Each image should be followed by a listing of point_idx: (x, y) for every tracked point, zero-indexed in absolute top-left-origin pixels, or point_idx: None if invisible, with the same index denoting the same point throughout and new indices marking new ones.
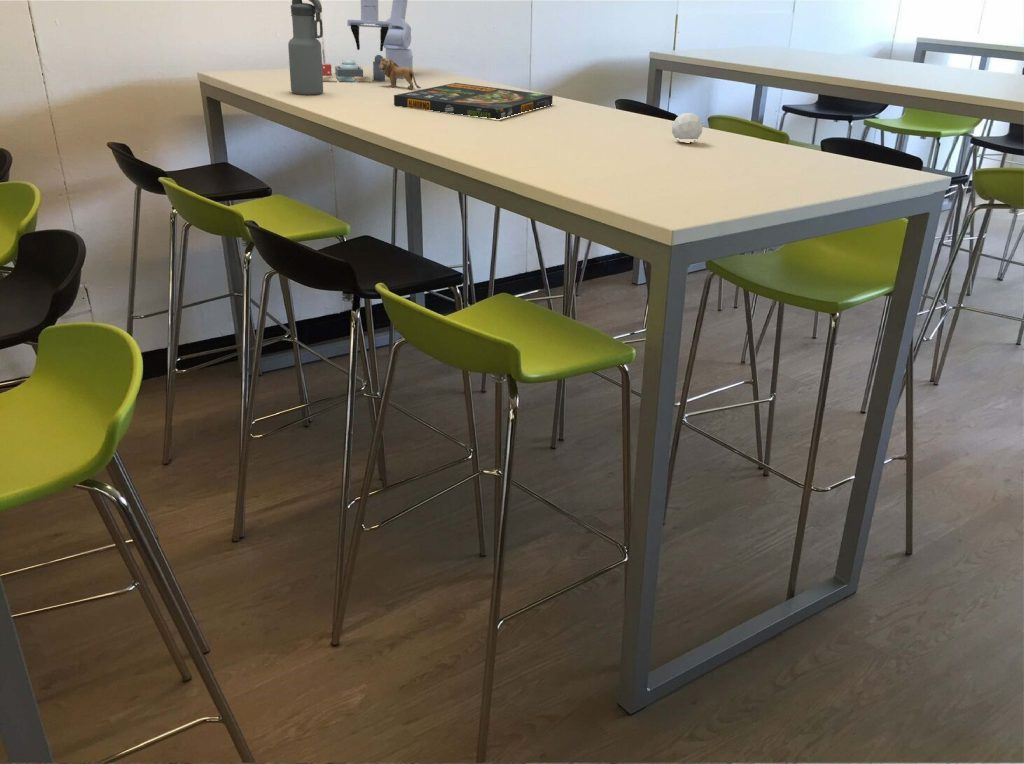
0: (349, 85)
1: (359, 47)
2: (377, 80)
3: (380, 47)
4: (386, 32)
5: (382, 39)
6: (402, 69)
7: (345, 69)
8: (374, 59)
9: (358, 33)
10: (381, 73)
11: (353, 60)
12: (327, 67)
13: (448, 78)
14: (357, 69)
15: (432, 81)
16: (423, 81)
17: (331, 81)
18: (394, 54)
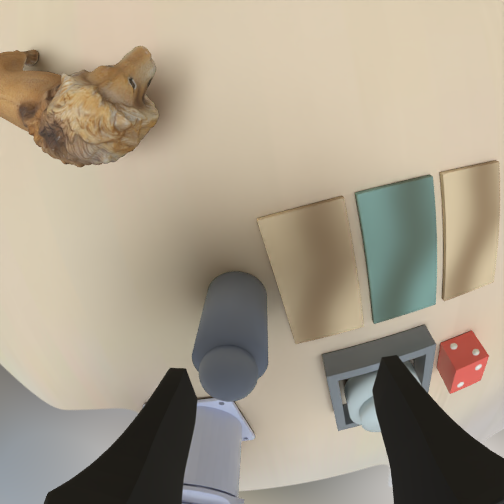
0: (368, 67)
1: (378, 393)
2: (240, 273)
3: (174, 388)
4: (55, 490)
5: (130, 445)
6: (6, 73)
7: (403, 358)
8: (257, 370)
9: (418, 488)
10: (215, 297)
11: (369, 428)
12: (464, 358)
13: (45, 381)
14: (350, 390)
15: (44, 323)
16: (64, 316)
17: (462, 168)
18: (191, 468)
